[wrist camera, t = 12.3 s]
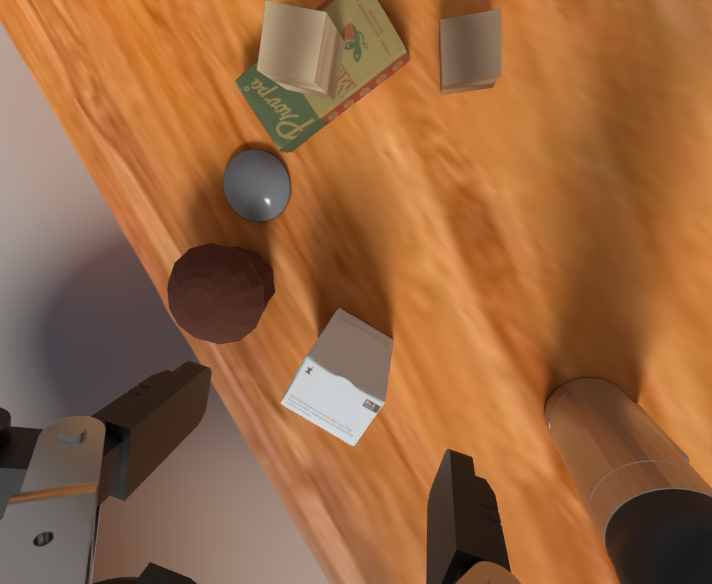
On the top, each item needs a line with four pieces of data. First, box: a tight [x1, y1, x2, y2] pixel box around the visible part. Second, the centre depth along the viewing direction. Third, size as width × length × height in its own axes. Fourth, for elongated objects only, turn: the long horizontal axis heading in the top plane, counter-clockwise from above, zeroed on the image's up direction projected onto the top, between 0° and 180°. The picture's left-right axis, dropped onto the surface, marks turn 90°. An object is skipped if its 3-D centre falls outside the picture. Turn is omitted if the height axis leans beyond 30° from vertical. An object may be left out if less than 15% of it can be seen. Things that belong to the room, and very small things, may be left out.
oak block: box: [257, 1, 345, 100], centre depth 35 cm, size 5×5×7 cm
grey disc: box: [223, 150, 291, 222], centre depth 46 cm, size 8×8×1 cm
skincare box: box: [281, 308, 393, 446], centre depth 42 cm, size 8×6×15 cm
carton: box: [235, 0, 410, 153], centre depth 40 cm, size 8×16×4 cm, turn 124°
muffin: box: [167, 243, 275, 344], centre depth 45 cm, size 12×11×10 cm
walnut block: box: [439, 9, 501, 95], centre depth 37 cm, size 5×5×5 cm
